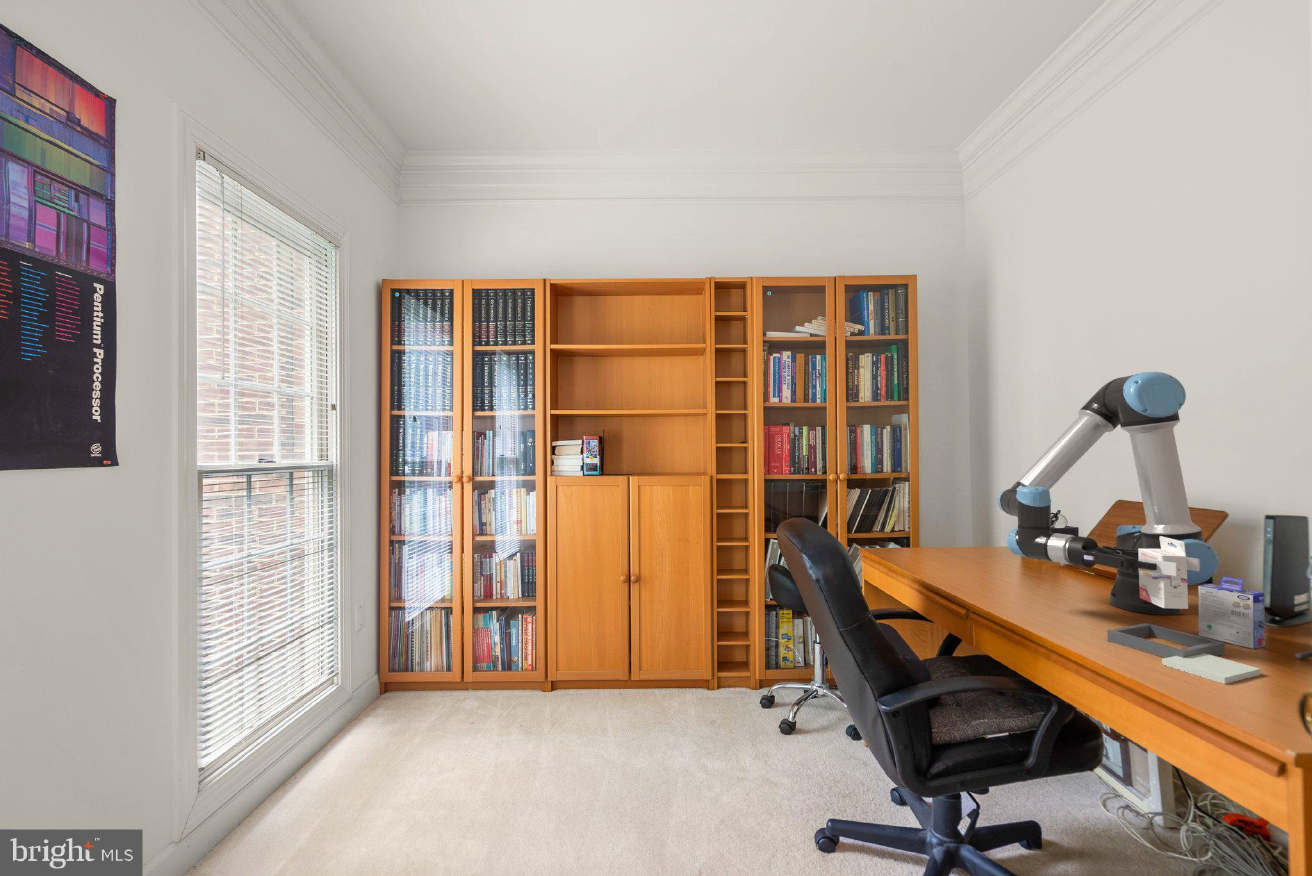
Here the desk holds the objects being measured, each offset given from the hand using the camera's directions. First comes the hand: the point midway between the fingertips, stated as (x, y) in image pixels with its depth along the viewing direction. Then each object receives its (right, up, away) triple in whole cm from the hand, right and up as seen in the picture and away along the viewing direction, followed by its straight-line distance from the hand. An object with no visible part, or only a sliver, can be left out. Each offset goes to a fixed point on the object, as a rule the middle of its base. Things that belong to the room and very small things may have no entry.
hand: (1187, 567), depth 121 cm
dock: (-2, -19, +4) cm, 19 cm away
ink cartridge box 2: (+17, -19, +7) cm, 27 cm away
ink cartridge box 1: (-2, -9, +4) cm, 10 cm away
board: (-4, -19, -9) cm, 21 cm away
